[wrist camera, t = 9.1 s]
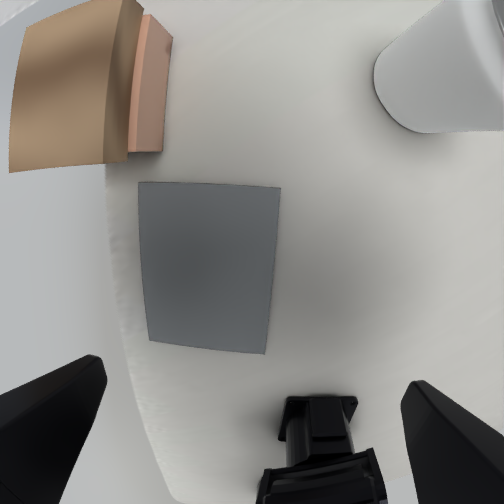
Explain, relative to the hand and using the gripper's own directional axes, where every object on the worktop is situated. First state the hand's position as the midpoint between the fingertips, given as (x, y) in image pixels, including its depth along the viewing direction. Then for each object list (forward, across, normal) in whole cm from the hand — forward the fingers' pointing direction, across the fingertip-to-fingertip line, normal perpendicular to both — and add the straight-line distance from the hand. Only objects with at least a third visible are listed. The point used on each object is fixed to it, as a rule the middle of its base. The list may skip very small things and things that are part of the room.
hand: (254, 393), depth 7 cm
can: (+12, -9, -12) cm, 20 cm away
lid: (+8, +11, -10) cm, 17 cm away
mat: (+12, +4, +2) cm, 13 cm away
